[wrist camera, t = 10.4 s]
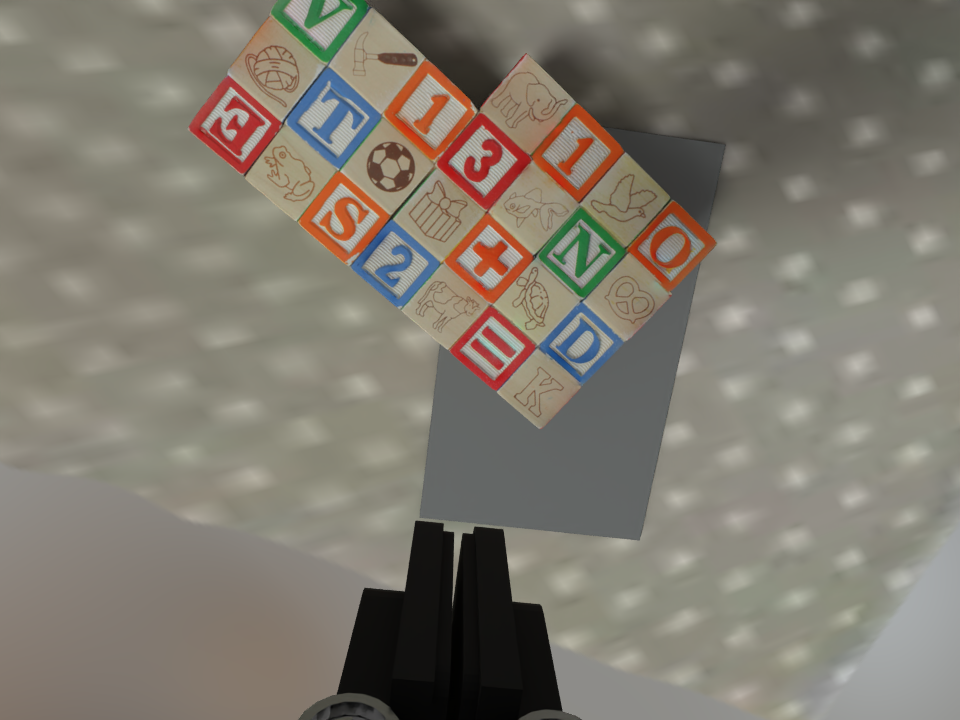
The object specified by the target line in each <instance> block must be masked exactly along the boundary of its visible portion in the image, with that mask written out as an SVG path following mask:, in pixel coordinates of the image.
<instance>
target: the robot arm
mask: <svg viewBox="0 0 960 720" xmlns="http://www.w3.org/2000/svg"><path fill="white" fill-rule="evenodd" d="M443 527H444V523H435V522H425V521H415V527H414V534H413V541H412V547H411V554H410V561H409V568H408V575H407V581H406V588H405V592H404V591H393V590H383V589H372V588H364V590H363V594H362V597H361V601H360V605H359V609H358V613H357V617H356V621H355V625H354V629H353V633H352V637H351V641H350V645H349V649H348V652H347V657H346V660H345V664H344V668H343V672H342V676H341V680H340V684H339V688H338V692H337V695H332V696H330V697H327V698H325V699H323V700H320V701H318V702H316V703H315V704H314V705H312V706H311V707H310V708H309V709H307V710H306V711H304V713H303V714H302V715H301V717H300V718H299V720H582V719H580V718H578V717H577V716H575V715H572V714H569V713H565V712H563V711H562V706H561V701H560V696H559V691H558V685H557V680H556V675H555V670H554V665H553V660H552V654H551V649H550V644H549V639H548V634H547V629H546V623H545V618H544V613H543V609H542V606H541V605H540V604H531V603H520V602H512V595H511V587H510V579H509V571H508V563H507V554H506V546H505V538H504V531H503V529H494V528H485V527H474V531H473V534H467V533H463V535H462V541H461V548H460V556H459V563H458V571H457V578H456V585H455V593H454V600H453V608H452V595H453V557H454V532H447V531H443Z"/></svg>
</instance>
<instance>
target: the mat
mask: <svg viewBox="0 0 960 720" xmlns="http://www.w3.org/2000/svg"><path fill="white" fill-rule="evenodd" d="M478 110H479V111H480V109H478ZM603 128H604V129H605V130H606V131H607V132H608V133H609V134H610V135H611V136H612V137H613V138H614V139H615V140H616V141H617V142H618V143H619V144H620V146H621V147H622V149H623V150H624V151H625V152H626V153H627V154H628V155H629V156H630V157H631V158H632V159H633V160H634V161H635V162H636V163H637V164H638V165H639V166H640V167H641V168H642V169H643V170H644V171H645V172H646V173H647V174H648V175H649V176H650V177H651V178H652V179H653V180H654V181H655V182H656V183H657V184H658V185H659V186H660V187H661V188H662V189H663V190H664V191H665V192H666V193H667V194H668V195H669V196H670V199H672V200H674V201H676V202H677V203H678V204H679V205H680V206H681V207H682V208H683V209H684V210H685V211H686V212H687V213H688V214H689V215H690V216H691V217H692V218H693V219H694V220H695V221H696V222H697V223H698V224H699V225H700V226H701V227H702V228H703V229H704V230H705V231H706V232H707V228H708V223H709V219H710V214H711V210H712V205H713V200H714V196H715V191H716V187H717V182H718V177H719V173H720V168H721V164H722V159H723V154H724V150H725V144H718V143H711V142H705V141H698V140H691V139H684V138H677V137H670V136H663V135H656V134H649V133H642V132H635V131H628V130H621V129H615V128H608V127H603ZM699 265H700V263H699V264H698V265H697V266H696V267H695V268H694V269H693V270H692V271H691V272H690V273H689V274H688V275H687V276H686V277H685V278H684V279H683V280H682V281H681V282H680V283H679V284H678V285H677V286H676V287H675V288H674V289H673V290H672V291H671V293H672V296H671V297H670V298H669V299H668V300H667V301H666V302H665V303H664V304H663V305H662V307H661V308H660V309H659V310H658V311H656V313H655V314H654V315H653V316H652V317H651V318H650V319H649V320H648V321H647V322H646V323H645V324H644V325H643V327H642V328H640V329H639V330H638V331H637V332H636V333H635V334H634V335H633V336H632V337H631V338H630V339H629V340H627V341H625V343H624V344H623V345H622V346H621V347H620V348H619V349H618V350H617V351H616V352H615V353H614V354H613V355H612V356H611V357H610V358H609V359H608V360H607V361H606V362H605V363H604V364H603V365H602V366H601V367H600V368H599V370H598V371H597V372H596V373H595V374H594V375H593V376H592V377H591V378H590V379H588V380H587V381H586V382H585V383H584V384H583V386H582V387H581V388H580V390H579V391H578V392H577V393H576V394H575V395H574V396H573V397H572V398H571V399H570V400H569V401H568V403H567V404H565V405H564V406H563V407H562V408H561V409H560V411H559V412H558V413H557V414H556V415H555V416H554V417H553V418H552V419H551V420H550V421H549V422H548V423H547V424H546V425H545V426H544V427H543V428H542V429H539V428H538V427H536V426H535V425H534V424H533V423H531V422H530V421H529V420H528V419H527V418H526V417H524V416H523V415H522V414H521V413H520V412H519V411H517V410H516V409H515V408H514V407H513V406H512V405H510V404H509V403H508V402H507V401H506V400H505V399H503V398H502V397H501V396H500V395H499V394H498V393H497V391H496V390H493V389H492V388H491V387H489V386H488V385H487V384H486V383H485V382H484V381H482V380H481V379H480V378H479V377H478V376H477V375H475V374H474V373H473V372H472V371H471V370H470V369H468V368H467V367H466V366H465V365H464V364H463V363H461V362H460V361H459V360H458V359H457V358H456V357H455V356H454V355H453V354H451V353H450V351H449V350H447V349H446V348H444V347H443V346H442V345H441V344H440V349H439V357H438V365H437V374H436V382H435V391H434V399H433V408H432V416H431V425H430V433H429V442H428V450H427V459H426V467H425V475H424V484H423V492H422V501H421V509H420V518H429V519H439V520H449V521H458V522H468V523H477V524H487V525H497V526H506V527H516V528H525V529H535V530H545V531H554V532H564V533H574V534H583V535H593V536H602V537H612V538H622V539H631V540H640V536H641V532H642V527H643V522H644V518H645V513H646V509H647V504H648V499H649V495H650V490H651V486H652V481H653V476H654V472H655V467H656V463H657V458H658V453H659V449H660V444H661V440H662V435H663V430H664V426H665V421H666V417H667V412H668V407H669V403H670V398H671V394H672V389H673V384H674V380H675V375H676V371H677V366H678V361H679V357H680V352H681V348H682V343H683V338H684V334H685V329H686V325H687V320H688V315H689V311H690V306H691V302H692V297H693V292H694V288H695V283H696V279H697V274H698V269H699Z"/></svg>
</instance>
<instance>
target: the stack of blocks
mask: <svg viewBox="0 0 960 720" xmlns="http://www.w3.org/2000/svg"><path fill="white" fill-rule="evenodd" d="M188 130H189V131H190V132H191V133H192V134H193V135H194V136H195V137H197V138H198V139H199V140H201V141H202V142H203V143H204V144H205V145H207V146H208V147H209V148H210V149H211V150H212V151H214V152H215V153H216V154H217V155H218V156H220V157H221V158H222V159H223V160H224V161H226V162H227V163H228V164H229V165H230V166H232V167H233V168H234V169H235V170H236V171H237V172H239V173H240V174H241V175H244V176H245V179H246V180H247V181H248V182H249V183H250V184H252V185H253V186H254V187H255V188H256V189H257V190H259V191H260V192H261V193H262V194H264V195H265V196H266V197H267V198H268V199H269V200H270V201H272V202H273V203H274V204H275V205H276V206H277V207H279V208H280V209H281V210H282V211H283V212H285V213H286V214H287V215H288V216H290V217H291V218H292V219H293V220H295V221H297V222H298V223H299V224H300V226H301V227H303V228H304V229H305V230H306V231H307V232H308V233H310V234H311V235H312V236H313V237H314V238H315V239H316V240H318V241H319V242H320V243H321V244H322V245H323V246H325V247H326V248H327V249H328V250H329V251H331V252H332V253H333V254H334V255H335V256H336V257H338V258H339V259H340V260H341V261H342V262H343V263H345V264H346V265H348V266H350V267H351V268H352V270H353V271H354V272H356V273H357V274H358V275H359V276H360V277H362V278H363V279H364V280H365V281H366V282H368V283H369V284H370V285H371V286H372V287H373V288H375V289H376V290H377V291H378V292H379V293H381V294H382V295H383V296H384V297H385V298H386V299H388V300H389V301H390V302H391V303H392V304H394V305H395V306H396V307H397V308H399V309H400V310H402V311H403V313H404V314H406V315H407V316H408V317H409V318H410V319H411V320H412V321H414V322H415V323H416V324H417V325H418V326H420V327H421V328H422V329H423V330H424V331H425V332H427V333H428V334H429V335H430V336H431V337H432V338H434V339H435V340H436V341H437V342H438V343H440V344H441V345H442V346H443V347H444V348H446V349H447V350H449V351H450V353H451V354H453V355H454V356H455V357H456V358H457V359H458V360H459V361H460V362H461V363H463V364H464V365H465V366H466V367H467V368H468V369H470V370H471V371H472V372H473V373H474V374H475V375H477V376H478V377H479V378H480V379H481V380H482V381H484V382H485V383H486V384H487V385H488V386H489V387H491V388H492V389H493V390H496V391H497V393H498V394H499V395H500V396H501V397H502V398H503V399H505V400H506V401H507V402H508V403H509V404H510V405H512V406H513V407H514V408H515V409H516V410H517V411H519V412H520V413H521V414H522V415H523V416H524V417H526V418H527V419H528V420H529V421H530V422H531V423H533V424H534V425H535V426H536V427H538V428H539V429H542V428H543V427H544V426H545V425H546V424H547V423H548V422H549V421H550V420H551V419H552V418H553V417H554V416H555V415H556V414H557V413H558V412H559V411H560V409H561V408H562V407H563V406H564V405H565V404H567V403H568V401H569V400H570V399H571V398H572V397H573V396H574V395H575V394H576V393H577V392H578V391H579V390H580V388H581V387H582V386H583V384H584V383H585V382H586V381H587V380H588V379H590V378H591V377H592V376H593V375H594V374H595V373H596V372H597V371H598V370H599V368H600V367H601V366H602V365H603V364H604V363H605V362H606V361H607V360H608V359H609V358H610V357H611V356H612V355H613V354H614V353H615V352H616V351H617V350H618V349H619V348H620V347H621V346H622V345H623V344H624V343H625V341H627V340H629V339H630V338H631V337H632V336H633V335H634V334H635V333H636V332H637V331H638V330H639V329H640V328H642V327H643V325H644V324H645V323H646V322H647V321H648V320H649V319H650V318H651V317H652V316H653V315H654V314H655V313H656V311H658V310H659V309H660V308H661V307H662V305H663V304H664V303H665V302H666V301H667V300H668V299H669V298H670V297H671V296H672V293H671V291H672V290H673V289H674V288H675V287H676V286H677V285H678V284H679V283H680V282H681V281H682V280H683V279H684V278H685V277H686V276H687V275H688V274H689V273H690V272H691V271H692V270H693V269H694V268H695V267H696V266H697V265H698V264H699V263H700V262H701V261H702V260H703V259H704V257H705V256H706V255H707V254H708V253H709V252H710V251H711V250H712V249H713V248H714V247H715V246H716V244H717V242H716V241H715V240H714V238H713V237H712V236H711V235H710V234H708V233H707V232H706V231H705V230H704V229H703V228H702V227H701V226H700V225H699V224H698V223H697V222H696V221H695V220H694V219H693V218H692V217H691V216H690V215H689V214H688V213H687V212H686V211H685V210H684V209H683V208H682V207H681V206H680V205H679V204H678V203H677V202H676V201H674V200H672V199H670V196H669V195H668V194H667V193H666V192H665V191H664V190H663V189H662V188H661V187H660V186H659V185H658V184H657V183H656V182H655V181H654V180H653V179H652V178H651V177H650V176H649V175H648V174H647V173H646V172H645V171H644V170H643V169H642V168H641V167H640V166H639V165H638V164H637V163H636V162H635V161H634V160H633V159H632V158H631V157H630V156H629V155H628V154H627V153H626V152H625V151H624V150H623V149H622V147H621V146H620V144H619V143H618V142H617V141H616V140H615V139H614V138H613V137H612V136H611V135H610V134H609V133H608V132H607V131H606V130H605V129H604V128H603V127H602V126H601V125H600V124H599V123H598V122H597V121H596V120H595V119H594V118H593V117H592V116H591V115H590V114H589V113H588V112H587V111H586V110H584V109H583V108H582V107H581V106H580V105H579V104H578V103H576V102H575V101H574V99H573V98H572V97H571V96H570V95H569V94H568V93H567V92H566V91H565V90H564V89H563V88H562V87H561V86H560V85H559V84H558V83H557V82H556V81H555V80H554V79H553V78H552V77H551V76H550V75H549V74H548V73H547V72H546V71H545V70H544V69H543V68H542V67H541V66H540V65H539V64H538V63H536V62H535V61H534V60H533V59H532V58H531V57H530V56H529V55H528V54H527V53H526V54H525V55H524V56H523V57H522V58H521V59H520V60H519V62H518V63H517V64H516V65H515V67H514V68H513V69H512V70H511V71H510V72H509V74H508V75H507V76H506V77H505V78H504V79H503V81H502V82H501V83H500V84H499V86H498V87H497V88H496V89H495V90H494V91H493V93H492V94H491V95H490V96H489V97H488V98H487V100H486V101H485V102H484V103H483V104H482V106H481V108H480V111H479V110H478V109H477V108H476V107H475V106H474V104H473V103H472V102H471V100H470V99H469V98H468V97H467V96H466V95H465V94H464V93H463V92H462V91H461V90H460V89H459V88H458V87H457V86H456V85H455V84H453V83H452V82H451V81H450V80H449V79H448V78H447V77H446V76H445V75H444V74H443V73H442V72H441V71H440V70H439V69H438V68H437V67H436V66H435V65H434V64H433V63H431V62H430V61H429V60H428V59H427V58H426V57H425V56H424V55H423V54H422V53H421V52H420V51H419V50H418V49H417V48H416V47H415V46H413V45H412V44H411V43H410V42H409V41H408V40H407V39H406V38H405V37H404V36H403V35H402V34H401V33H400V32H399V31H398V30H397V29H396V28H395V27H393V26H392V25H391V24H390V23H389V22H388V21H387V20H386V19H385V18H384V17H383V16H382V15H381V14H380V13H379V12H378V11H377V10H375V9H374V8H373V7H369V5H368V4H367V3H366V2H365V1H364V0H278V1H277V2H276V3H275V5H274V6H273V7H272V9H271V12H270V16H269V17H268V19H267V20H266V21H265V22H264V23H263V25H262V26H261V27H260V28H259V29H258V31H257V32H256V33H255V34H254V36H253V37H252V39H251V40H250V41H249V43H248V44H247V45H246V47H245V48H244V50H243V51H242V52H241V54H240V55H239V56H238V58H237V59H236V60H235V61H234V63H233V64H232V65H231V67H230V68H229V70H228V75H227V76H226V77H225V78H224V79H223V80H222V82H221V83H220V84H219V85H218V87H217V88H216V90H215V91H214V92H213V94H212V95H211V96H210V97H209V98H208V100H207V101H206V103H205V104H204V105H203V106H202V108H201V109H200V110H199V112H198V113H197V115H196V116H195V117H194V119H193V120H192V122H191V123H190V125H189V127H188Z"/></svg>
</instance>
